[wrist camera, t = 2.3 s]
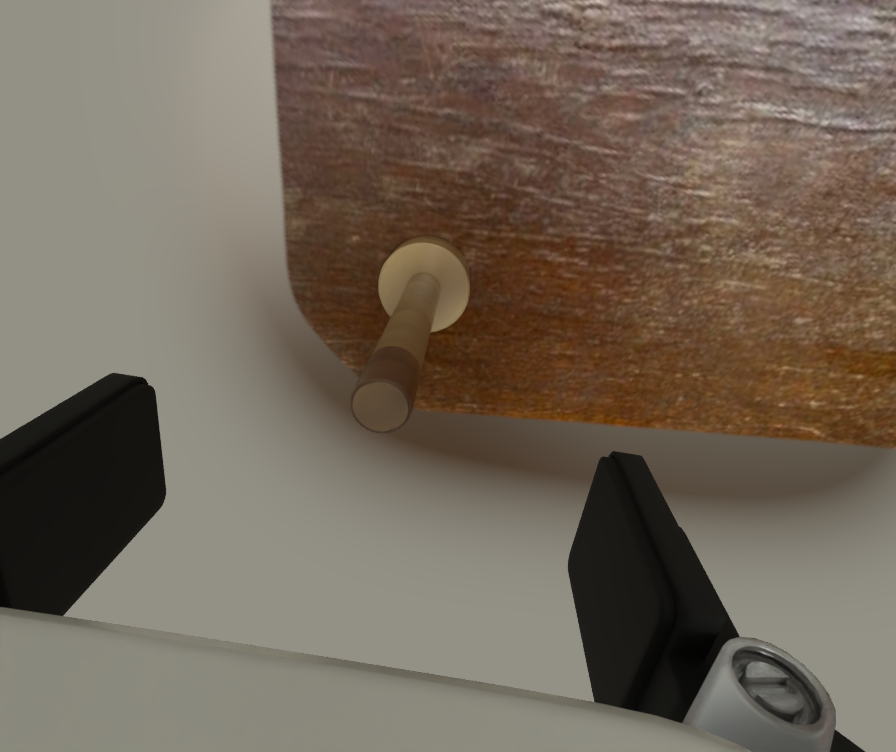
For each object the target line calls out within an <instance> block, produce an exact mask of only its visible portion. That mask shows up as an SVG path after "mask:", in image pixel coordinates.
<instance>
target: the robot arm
mask: <svg viewBox="0 0 896 752" xmlns="http://www.w3.org/2000/svg"><path fill="white" fill-rule="evenodd" d="M165 496H166V485H165V477H164V467H163V458H162V450H161V440H160V431H159V422H158V413H157V403H156V395H155V390H154V388H153V387H152V386H149V385H148V383H147V381H146V379H144V378H143V377H137V376H130V375H124V374H118V373H112V374H109V375H107V376H106V377H104V378H102V379H101V380H99V381H97V382H95V383H94V384H92V385H90V386H89V387H87V388H85V389H84V390H82V391H80V392H79V393H77V394H75V395H74V396H72V397H70V398H69V399H67V400H65V401H63V402H62V403H60V404H58V405H57V406H55V407H53V408H52V409H50V410H48V411H47V412H45V413H44V414H42V415H40V416H38V417H37V418H35V419H33V420H32V421H30V422H28V423H27V424H25V425H23V426H21V427H20V428H18V429H16V430H15V431H13V432H12V433H10V434H8V435H6V436H5V437H3V438H2V439H0V752H865V751H863V750H862V749H861V748H859V747H858V746H857V745H855V744H854V743H853V742H851V741H850V740H849V739H847V738H846V737H844V736H843V735H841V734H840V733H839V732H838V731H836V730H835V726H836V714H835V708H834V705H833V703H832V701H831V698H830V696H829V694H828V692H827V691H826V690H825V688H824V687H823V685H822V684H821V682H820V681H819V680H818V679H817V678H816V676H814V674H812V672H811V671H809V669H807V667H806V666H805V665H804V664H802V663H801V662H800V661H798V660H797V659H796V658H794V657H793V656H791V655H790V654H789V653H787V652H786V651H784V650H782V649H780V648H778V647H776V646H774V645H773V644H771V643H768V642H764V641H762V640H759V639H755V638H748V637H739V634H738V633H737V631H736V629H735V627H734V625H733V623H732V621H731V619H730V617H729V615H728V614H727V612H726V610H725V608H724V606H723V604H722V602H721V600H720V599H719V597H718V595H717V593H716V591H715V589H714V588H713V585H712V583H711V581H710V580H709V578H708V576H707V574H706V572H705V570H704V568H703V566H702V564H701V563H700V561H699V559H698V557H697V555H696V553H695V551H694V550H693V547H692V545H691V543H690V542H689V540H688V538H687V536H686V534H685V532H684V531H683V530H682V528H681V527H679V526H678V524H677V522H676V520H675V518H674V516H673V514H672V512H671V511H670V508H669V507H668V505H667V503H666V501H665V499H664V497H663V495H662V493H661V491H660V489H659V487H658V486H657V483H656V482H655V480H654V478H653V476H652V474H651V472H650V470H649V468H648V466H647V464H646V462H645V461H644V459H643V457H642V456H640V455H634V454H628V453H621V452H615V451H613V452H612V453H611V454H610V455H609V457H601V459H600V460H599V463H598V466H597V469H596V472H595V475H594V479H593V482H592V485H591V488H590V491H589V494H588V497H587V501H586V504H585V507H584V510H583V513H582V517H581V520H580V523H579V526H578V529H577V532H576V536H575V538H574V541H573V545H572V548H571V551H570V554H569V560H568V572H569V578H570V583H571V588H572V592H573V598H574V603H575V608H576V613H577V617H578V623H579V628H580V633H581V638H582V642H583V647H584V652H585V657H586V662H587V667H588V672H589V677H590V682H591V687H592V692H593V697H594V702H590V701H585V700H579V699H574V698H568V697H563V696H556V695H551V694H546V693H540V692H535V691H529V690H524V689H518V688H513V687H507V686H501V685H495V684H489V683H483V682H477V681H470V680H465V679H459V678H452V677H446V676H440V675H434V674H428V673H421V672H416V671H409V670H403V669H397V668H391V667H385V666H379V665H372V664H366V663H360V662H354V661H348V660H341V659H335V658H329V657H323V656H316V655H310V654H304V653H298V652H291V651H284V650H279V649H272V648H266V647H258V646H253V645H246V644H240V643H233V642H228V641H221V640H215V639H208V638H202V637H196V636H189V635H183V634H176V633H170V632H163V631H157V630H150V629H144V628H136V627H130V626H124V625H117V624H111V623H104V622H97V621H91V620H83V619H77V618H71V617H64V616H63V615H64V614H65V613H66V612H67V611H68V610H69V609H70V607H71V606H72V605H73V604H74V603H75V602H76V601H77V600H78V599H79V597H80V596H81V595H82V594H83V593H84V592H85V591H86V590H87V589H88V588H89V586H90V585H91V584H92V583H93V582H94V581H95V580H96V579H97V578H98V576H99V575H100V574H101V573H102V572H103V571H104V570H105V569H106V568H107V567H108V565H109V564H110V563H111V562H112V561H113V560H114V559H115V558H116V557H117V556H118V554H119V553H120V552H121V551H122V550H123V549H124V548H125V547H126V546H127V544H128V543H129V542H130V541H131V540H132V539H133V538H134V537H135V536H136V535H137V533H138V532H139V531H140V530H141V529H142V528H143V527H144V526H145V525H146V524H147V522H148V521H149V520H150V519H151V518H152V517H153V516H154V515H155V513H156V512H157V511H158V510H159V509H160V508H161V506H162V505H163V503H164V500H165Z"/></svg>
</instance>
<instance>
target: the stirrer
mask: <svg viewBox="0 0 896 752" xmlns="http://www.w3.org/2000/svg"><path fill="white" fill-rule="evenodd" d="M378 291H379V296H380V300H381V303H382V305H383V307H384V309H385V311H386V312H387V313H388V315H389V316H390V317H391V318H390V320H389V322H388V324H387V326H386V328H385V330H384V332H383V334H382V336H381V338H380V340H379V342H378V344H377V346H376V348H375V350H374V352H373V354H372V355H371V357H370V358H369V360H368V362H367V364H366V366H365V368H364V370H363V372H362V374H361V376H360V378H359V380H358V382H357V384H356V386H355V388H354V390H353V392H352V394H351V397H350V408H351V412H352V414H353V416H354V418H355V419H356V421H357V422H358V423H359V424H360V425H361V426H362V427H364V428H366V429H367V430H370V431H373V432H376V433H390V432H393V431H396V430H398V429H400V428H401V427H403V426H404V425H405V424H406V423H407V421H408V420H409V418H410V416H411V413H412V409H413V405H414V401H415V397H416V392H417V388H418V384H419V380H420V375H421V369H422V365H423V361H424V357H425V353H426V349H427V345H428V341H429V337H430V333H431V332H436V331H439V330H442V329H445V328H447V327H448V326H450V325H452V324H453V323H454V322H455V321H456V320H457V319H458V318H459V317H460V316H461V315H462V313H463V312H464V310H465V308H466V306H467V303H468V300H469V296H470V271H469V267H468V264H467V262H466V260H465V258H464V256H463V255H462V254H461V252H460V251H459V250H458V249H457V248H456V247H455V246H454V245H452V244H451V243H449V242H448V241H446V240H444V239H441V238H438V237H434V236H419V237H414V238H411V239H409V240H407V241H405V242H403V243H402V244H400V245H399V246H398V247H397V248H396V249H395V250H394V251H393V253H392V254H391V255H390V256H389V258H388V259H387V260H386V262H385V263H384V265H383V267H382V269H381V272H380V275H379V281H378Z"/></svg>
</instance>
